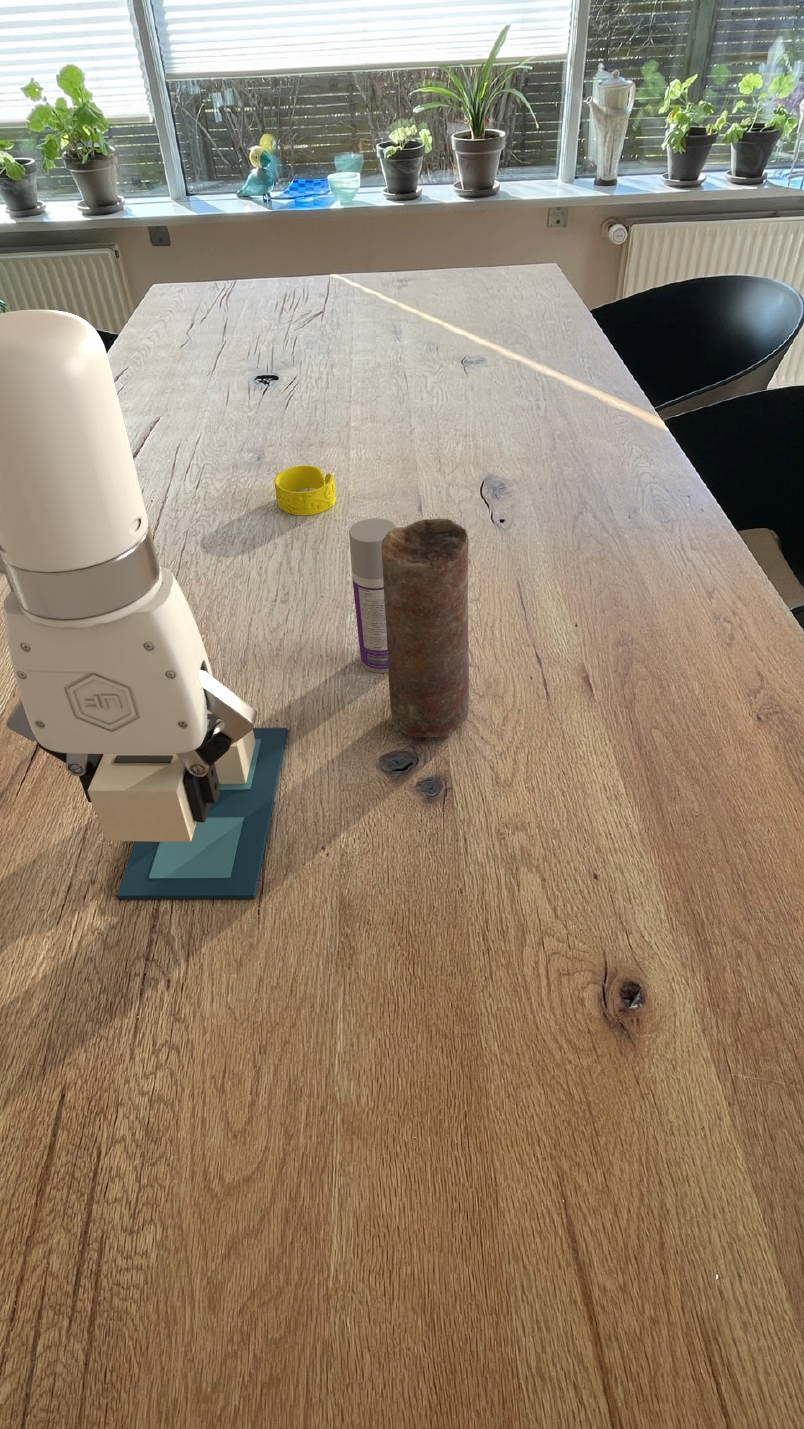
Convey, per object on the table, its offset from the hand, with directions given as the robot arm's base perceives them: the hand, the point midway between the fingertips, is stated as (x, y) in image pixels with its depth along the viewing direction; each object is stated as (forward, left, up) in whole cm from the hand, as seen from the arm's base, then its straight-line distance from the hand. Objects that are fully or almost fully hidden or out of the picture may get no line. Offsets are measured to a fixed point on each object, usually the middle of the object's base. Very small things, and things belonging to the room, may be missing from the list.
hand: (157, 804), depth 62 cm
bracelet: (0, +70, -15) cm, 72 cm away
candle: (+17, +25, -15) cm, 34 cm away
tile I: (0, 0, 0) cm, 0 cm away
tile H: (-2, +19, -15) cm, 24 cm away
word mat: (-2, +14, -15) cm, 21 cm away
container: (+12, +35, -15) cm, 40 cm away
